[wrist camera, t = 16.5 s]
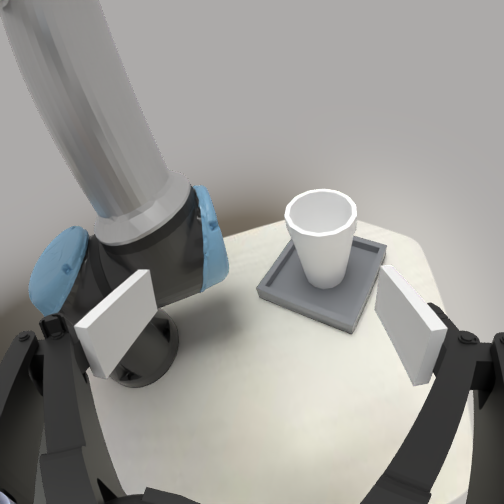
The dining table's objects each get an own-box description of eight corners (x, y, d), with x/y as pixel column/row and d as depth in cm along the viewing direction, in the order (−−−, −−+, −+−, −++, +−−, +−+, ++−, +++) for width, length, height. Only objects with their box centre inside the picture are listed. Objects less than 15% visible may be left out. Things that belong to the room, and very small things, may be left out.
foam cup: (289, 261, 49) (276, 200, 39) (339, 244, 48) (337, 182, 39) (307, 305, 42) (299, 246, 33) (363, 285, 42) (369, 222, 33)
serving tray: (259, 296, 46) (256, 288, 45) (304, 231, 54) (302, 221, 52) (351, 334, 38) (353, 326, 36) (385, 255, 46) (386, 245, 44)
